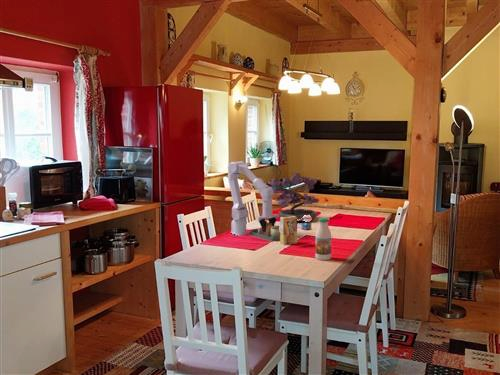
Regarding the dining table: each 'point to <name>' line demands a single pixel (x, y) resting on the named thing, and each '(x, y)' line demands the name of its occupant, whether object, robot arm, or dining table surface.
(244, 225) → the robot arm
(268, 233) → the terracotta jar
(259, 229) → the plate
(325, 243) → the milk bottle
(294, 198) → the bonsai tree
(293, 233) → the candy box
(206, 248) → the dining table surface
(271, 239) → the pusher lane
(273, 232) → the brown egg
